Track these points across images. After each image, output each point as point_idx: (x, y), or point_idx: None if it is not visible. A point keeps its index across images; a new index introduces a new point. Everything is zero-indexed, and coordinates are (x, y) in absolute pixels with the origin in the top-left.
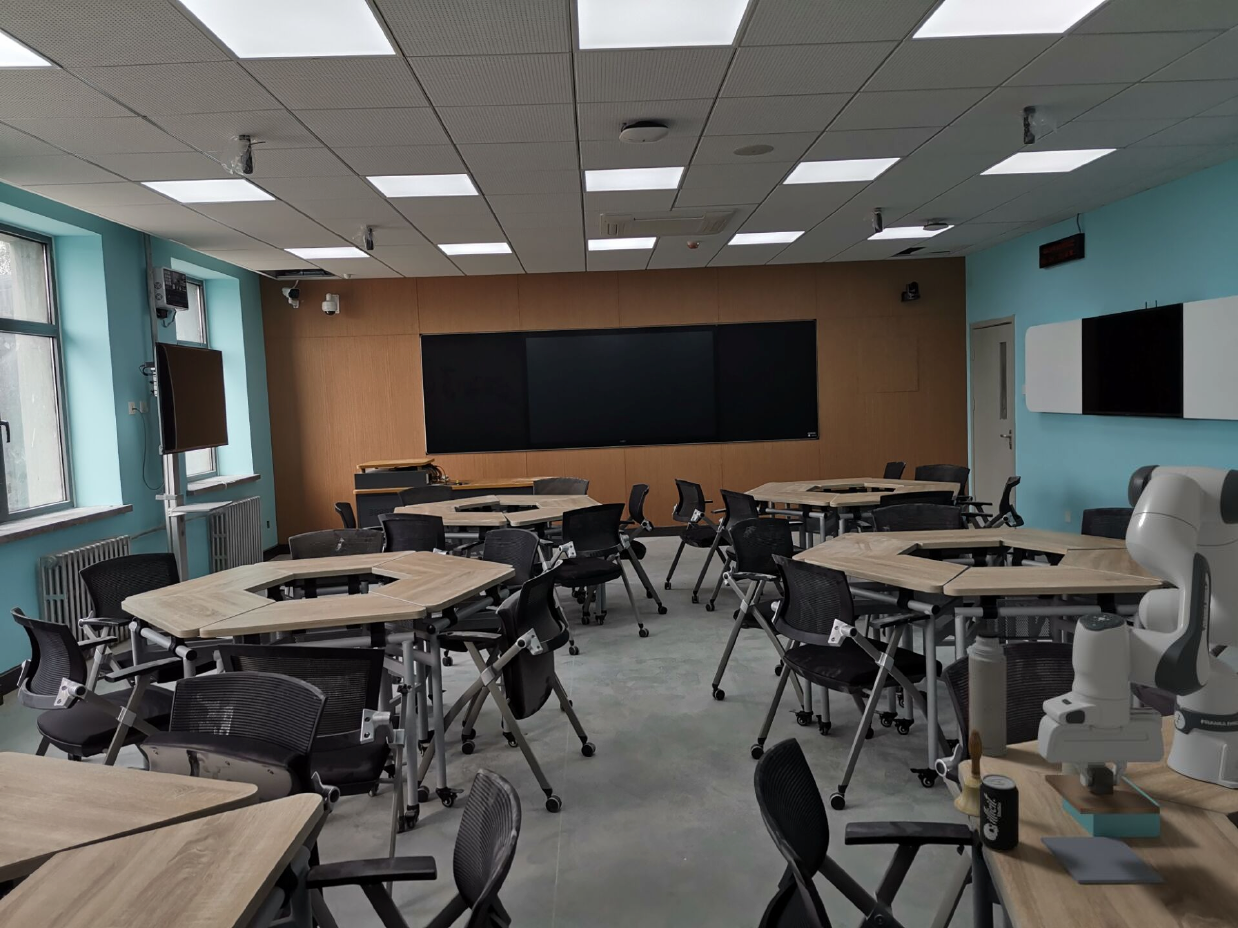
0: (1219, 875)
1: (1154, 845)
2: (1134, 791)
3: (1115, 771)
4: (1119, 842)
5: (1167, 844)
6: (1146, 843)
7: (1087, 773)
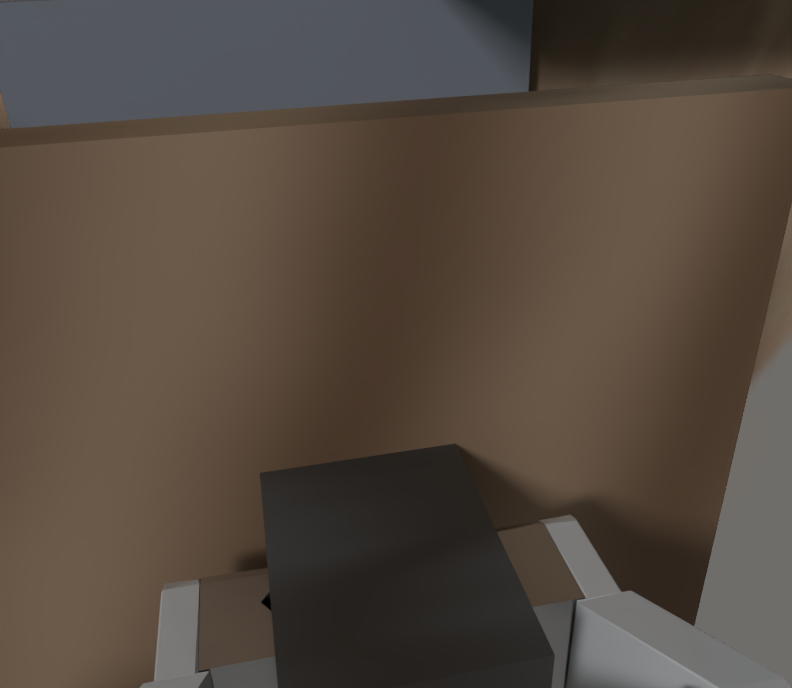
0: (774, 318)
1: (691, 46)
2: (683, 495)
3: (611, 681)
4: (500, 61)
5: (768, 30)
6: (663, 22)
7: (251, 674)
